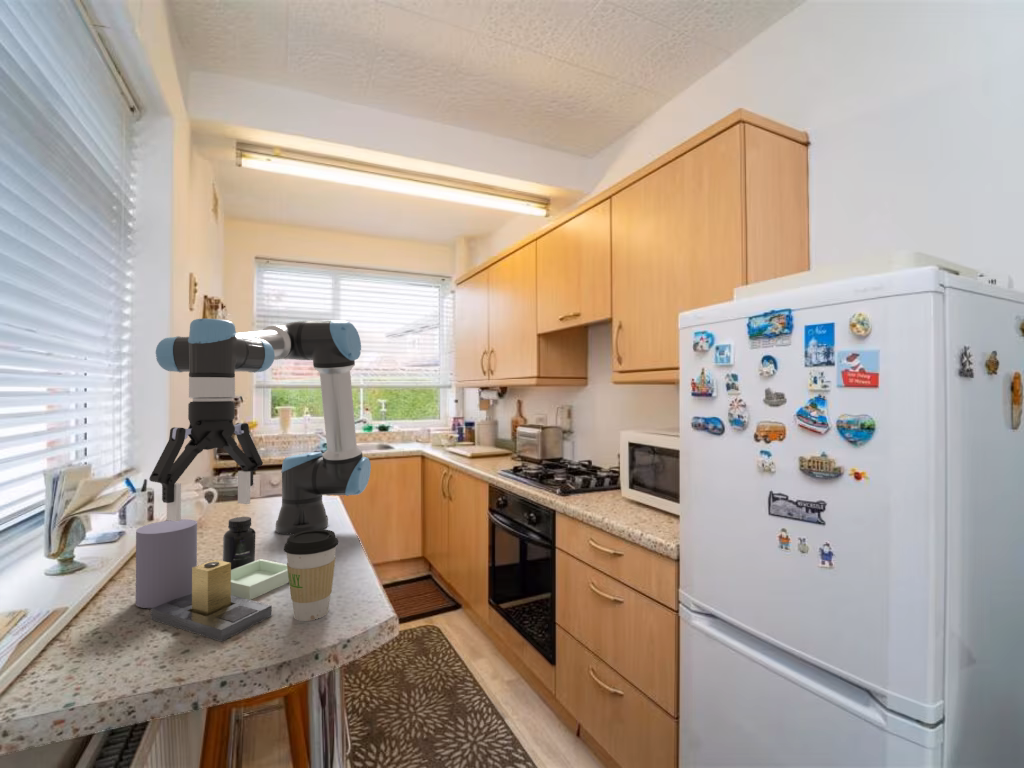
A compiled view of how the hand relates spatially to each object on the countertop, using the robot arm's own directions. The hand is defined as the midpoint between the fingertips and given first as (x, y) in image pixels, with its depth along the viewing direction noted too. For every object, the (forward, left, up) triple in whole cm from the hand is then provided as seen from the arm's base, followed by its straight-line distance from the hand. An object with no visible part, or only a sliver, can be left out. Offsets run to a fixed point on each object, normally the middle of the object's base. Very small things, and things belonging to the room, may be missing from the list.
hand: (211, 511), depth 90 cm
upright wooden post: (0, 0, -20) cm, 20 cm away
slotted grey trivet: (0, 0, -20) cm, 20 cm away
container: (-2, -17, -21) cm, 27 cm away
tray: (-14, -6, -20) cm, 25 cm away
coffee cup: (-9, +16, -21) cm, 28 cm away
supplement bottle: (-19, -18, -21) cm, 33 cm away
